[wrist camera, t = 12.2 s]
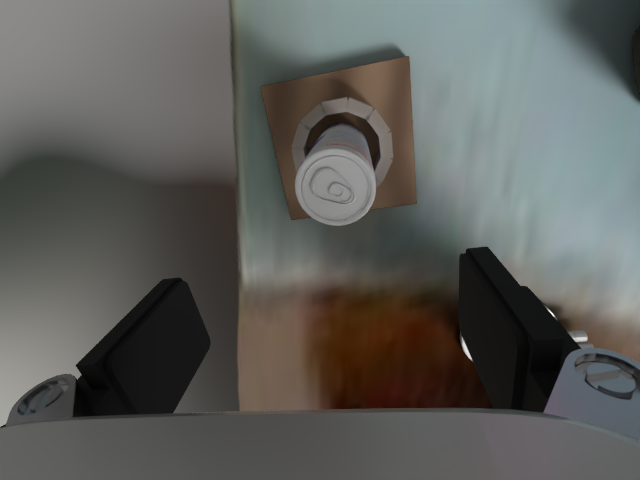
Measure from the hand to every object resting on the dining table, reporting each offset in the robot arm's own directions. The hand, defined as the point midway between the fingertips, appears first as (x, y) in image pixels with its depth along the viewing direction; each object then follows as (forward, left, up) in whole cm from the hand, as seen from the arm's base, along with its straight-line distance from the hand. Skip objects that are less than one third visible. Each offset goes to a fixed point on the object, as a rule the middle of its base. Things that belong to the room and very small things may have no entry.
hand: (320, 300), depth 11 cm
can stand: (0, -1, -28) cm, 28 cm away
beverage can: (0, 0, -27) cm, 27 cm away
